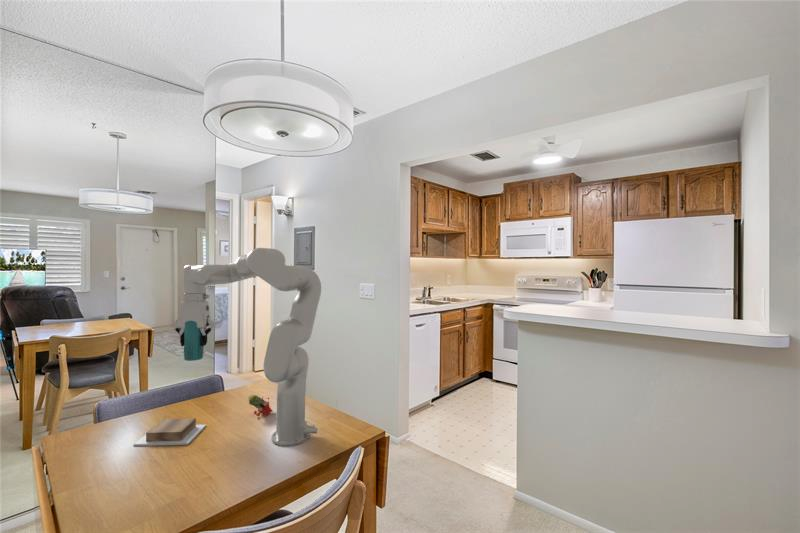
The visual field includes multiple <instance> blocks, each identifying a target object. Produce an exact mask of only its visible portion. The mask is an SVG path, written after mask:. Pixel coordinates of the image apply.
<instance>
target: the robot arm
mask: <svg viewBox="0 0 800 533" xmlns="http://www.w3.org/2000/svg"><path fill="white" fill-rule="evenodd" d="M256 277H258V278H260V279H261V280H263V281H264V282H266V284H268V285H270V286H271V287H272V288H274V289H276V290H277V291H281V292H293V291H297V294H296V295H295V297H294V300H293V302H292V304H291V309H290V314H289V316H288V318H287V319H285V320H281V321H280V322H278V323H277V324H276V325H275V326H274V327H273V328H272V330H271V332H270V335H269V338H268V342H267V346H266V351H265V355H264V360H263V368H262V369H263V373H264V375H265V378H266V379H267V380H268V381H270V382H271V383H277V387H276V390H277V391H276V423H275V424H276V429H275V431H274V432H273V433H272V435H271V438H270V439H271V442H272V444H275V445H277V446H282V447H290V446H291V447H292V446H295V445H300V444H302V443H304V442H306V441H307V440H308V439H309V437H310V434H318V426H317V427H316V425H313V424H312V425H309V424H307V422H308V421H307V420H306V390H307V389H306V388H307V387H306V386H307V385H306V384H307V376H308V369H309V363H310V362H309V360H310V359H309V355H308V352H307V351H306V350H305V349H304V348H303V347H302V345H303V344H306V343H308V341H309V340H310V338H311V337H312V333H313V328H314V324H315V319H316V316H317V311H318V306H319V302H320V300H321V294H322V282H321V279H320V276H318V274H317V272H316V271H315V270H313V269H312V268H310V267H309V266H308V267H307V266H306V265H286V257H285V254H284V253H283V252H282V251H280V250H279V249H275V248H269V247H268V248H267V247H256V248H254V249H252V250H251V251H249V253H248V254H243V255H240V256H239V257H237V259H236V260H235V262H231V263H225V264H186V265H185V266H184V267H183V269H182V301H181V302H180V304H179V310H178V314H177V315H178V317H177V320H175V321H174V322H173V323H172V324H171V328H172V329H174V331H175V332H177V334H178V336H179V343H180V347H184V328H185V322H187V321H195V322H196V323H197V328H200V330H201V333H202V336H201V346H206V345H207V343H208V335H209V333H211V331H213V329H215V327H216V326H217V323H215V321H213V320H212V319H211V310H210V304H209V301H208V300H207V299H210V294H207V292H206V291H207V286H215V285H227V284H232V283H237V282H241V281H245V280H248V279H252V278H256Z"/></svg>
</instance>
